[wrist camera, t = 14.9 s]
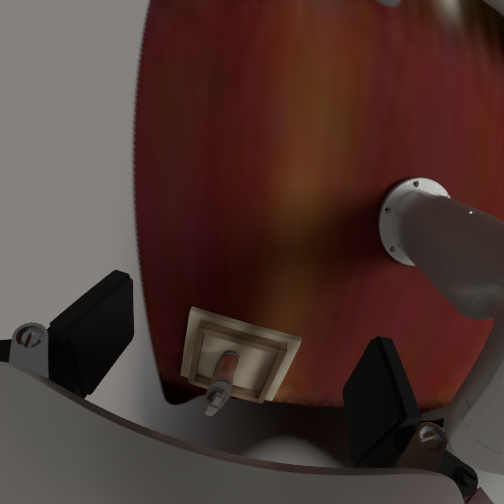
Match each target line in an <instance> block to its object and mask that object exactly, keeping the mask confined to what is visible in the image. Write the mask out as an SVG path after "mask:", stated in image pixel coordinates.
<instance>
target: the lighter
mask: <svg viewBox="0 0 504 504" xmlns="http://www.w3.org/2000/svg"><path fill="white" fill-rule="evenodd" d="M238 361H239V354H238V353H237V352H235V351H233V350H226V351H225V352H224V353H223V354H222V355H221V356H220V358H219V360H218V361H217V363H216V366H215V369H214V372H213V378H212V381H211V384H210V387H209V388H208V390H207V392H206V395H205V398H204V406H205V407H207V410H206V414H207V415H209V416H212V415H213V414H214V412H217V411H218V409H219V408H220V407H222V406H223V405H224V404H225V402H226V401H227V399H228V398H229V396H230V392H231V388H232V384H233V375H234V372H235V370H236V368H237V364H238Z"/></svg>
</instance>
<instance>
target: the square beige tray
mask: <svg viewBox="0 0 504 504" xmlns="http://www.w3.org/2000/svg"><path fill="white" fill-rule="evenodd" d="M301 342H302V341H301V337H299V336H295V335H291V334H287V333H283V332H279V331H275V330H271V329H268V328H264V327H260V326H257V325H253V324H249V323H246V322H242V321H239V320H235V319H232V318H229V317H225V316H222V315H219V314H215V313H212V312H209V311H206V310H202V309H199V308H196V307H193V306H192V308H191V310H190V314H189V320H188V326H187V333H186V340H185V347H184V354H183V361H182V368H181V376H184V377H187V378H189V379H188V383H190V384H193V385H196V386H200V387H203V388H206V389H208V388H209V387H210V384H211V381H212V378H213V372H214V369H215V366H216V363H217V361H218V360H219V358H220V356H221V355H222V354H223V353H224V352H225V351H226V350H233V351H235V352H237V353H238V354H239V361H238V364H237V368H236V370H235V372H234V375H233V384H232V388H231V392H230V396H234V397H237V398H241V399H245V400H250V401H254V402H258V403H263V401H264V399H265V400H270V401H272V400H273V398H274V396H275V394H276V392H277V390H278V388H279V386H280V384H281V382H282V381H283V379H284V377H285V375H286V373H287V371H288V369H289V367H290V365H291V363H292V361H293V358H294V356H295V354H296V352H297V350H298V348H299V346H300V344H301Z"/></svg>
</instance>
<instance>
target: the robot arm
mask: <svg viewBox="0 0 504 504" xmlns="http://www.w3.org/2000/svg"><path fill="white" fill-rule="evenodd" d="M414 182H415V184H414V185H413V183H414ZM386 208H388V209H387V211H385V209H386ZM378 229H379V236H380V239H381V242H382V244H383V246H384V248H385V249H386V251H387V252H388V253H389V254H390V255H391V256H392V257H393V258H394V259H395V260H397V261H398V262H400V263H402V264H405V265H411V266H417V268H418V269H419V270H420V271H421V272H422V273H423V274H424V275H425V276H426V277H427V278H428V279H429V280H430V282H431V283H432V284H433V285H434V286H435V287H436V288H437V289H438V291H439V292H440V293H441V294H442V295H443V296H444V297H445V298H446V300H447V301H448V302H449V303H450V304H451V305H452V306H453V307H454V309H455V310H456V311H457V312H459V313H460V314H461V315H463V316H465V317H467V318H470V319H473V320H488V319H494V323H493V327H492V329H491V331H490V334H489V336H488V338H487V340H486V342H485V345H484V347H483V349H482V351H481V353H480V355H479V356H478V358H477V360H476V362H475V363H474V365H473V367H472V368H471V370H470V372H469V373H468V375H467V377H466V378H465V380H464V381H463V383H462V384H461V386H460V388H459V389H458V391H457V392H456V394H455V396H454V397H453V399H452V401H451V403H450V405H449V407H448V409H447V412H446V415H445V420H444V431H443V430H442V429H441V428H440V427H439V426H437V425H435V424H433V423H423V424H421V423H420V419H421V418H422V417H421V414H420V411H419V408H418V405H417V402H416V399H415V397H414V394H413V391H412V388H411V386H410V383H409V380H408V378H407V375H406V373H405V370H404V368H403V365H402V363H401V360H400V358H399V355H398V353H397V350H396V348H395V346H394V343H393V341H392V339H390V338H386V337H380V336H378V337H376V338H375V339H372V340H371V341H370V342H369V344H368V346H367V348H366V350H365V352H364V353H363V355H362V357H361V359H360V360H359V362H358V364H357V366H356V367H355V369H354V371H353V372H352V374H351V376H350V377H349V379H348V380H347V382H346V384H345V385H344V388H343V400H344V408H345V416H346V425H347V434H348V445H349V456H350V461H351V462H353V463H354V468H328V467H313V466H301V465H293V464H284V463H276V462H270V461H264V460H258V459H253V458H248V457H243V456H238V455H233V454H229V453H224V452H221V451H217V450H213V449H209V448H205V447H202V446H198V445H195V444H191V443H188V442H185V441H182V440H179V439H175V438H173V437H170V436H167V435H164V434H161V433H159V432H156V431H153V430H151V429H148V428H146V427H143V426H141V425H138V424H136V423H133V422H131V421H129V420H126V419H124V418H122V417H120V416H117V415H115V414H113V413H111V412H109V411H107V410H105V409H103V408H100V407H99V406H97V405H95V404H92V403H91V402H89V401H87V400H85V399H84V398H85V397H86V396H87V394H88V395H90V394H92V393H93V392H94V390H95V389H96V387H97V386H98V385H99V383H100V382H101V381H102V379H103V378H104V376H105V375H106V374H107V373H108V371H109V370H110V368H111V367H112V366H113V364H114V363H115V362H116V360H117V359H118V358H119V356H120V355H121V354H122V352H123V351H124V350H125V349H126V347H127V346H128V345H129V343H130V342H131V341H132V339H133V336H134V313H133V280H132V279H131V278H130V276H129V274H128V273H124V272H121V271H118V270H115V271H113V272H111V273H110V274H109V275H108V276H106V277H105V278H104V279H102V280H101V281H100V282H99V283H98V284H96V285H95V286H94V287H92V288H91V289H90V290H89V291H88V292H86V293H85V294H84V295H83V296H81V297H80V298H79V299H78V300H76V301H75V302H74V303H73V304H72V305H70V306H69V307H68V308H67V309H66V310H65V311H63V312H62V313H61V314H60V315H59V316H57V318H55V319H54V320H53V321H52V322H51V323H50V327H49V328H48V329H46V328H45V327H44V326H43V325H41V324H38V323H26V324H24V325H21V326H20V327H18V328H17V329H16V330H15V332H14V334H13V336H12V339H8V340H0V504H494V503H493V502H492V501H491V500H490V498H489V497H488V496H487V495H486V493H485V492H484V491H483V490H482V488H481V487H479V488H478V489H477V485H478V477H477V474H476V473H475V471H474V470H473V469H472V468H471V467H473V468H476V469H479V470H481V471H485V472H490V473H495V474H500V475H504V221H502V220H500V219H498V218H496V217H493V216H491V215H489V214H486V213H484V212H482V211H480V210H477V209H475V208H473V207H470V206H468V205H465V204H463V203H461V202H458V201H456V200H453V199H451V198H450V196H449V194H448V193H447V191H446V190H445V189H444V188H443V187H442V186H441V185H440V184H438V183H437V182H435V181H433V180H431V179H428V178H423V177H413V178H409V179H406V180H404V181H402V182H400V183H398V184H397V185H396V186H395V187H393V188H392V190H391V191H390V192H389V193H388V194H387V196H386V198H385V199H384V201H383V204H382V206H381V209H380V213H379V218H378ZM391 247H392V248H391ZM390 248H391V249H390ZM447 443H448V445H449V447H450V449H451V450H452V452H453V453H454V454H455V455H456V456H457V457H458V458H459V459H458V458H457V457H455V456H454V455H452V454H451V453H450V452H448V451H447V450H446V447H447ZM462 461H463V462H462ZM465 463H466V464H465ZM468 465H469V466H468ZM470 466H471V467H470Z"/></svg>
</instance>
